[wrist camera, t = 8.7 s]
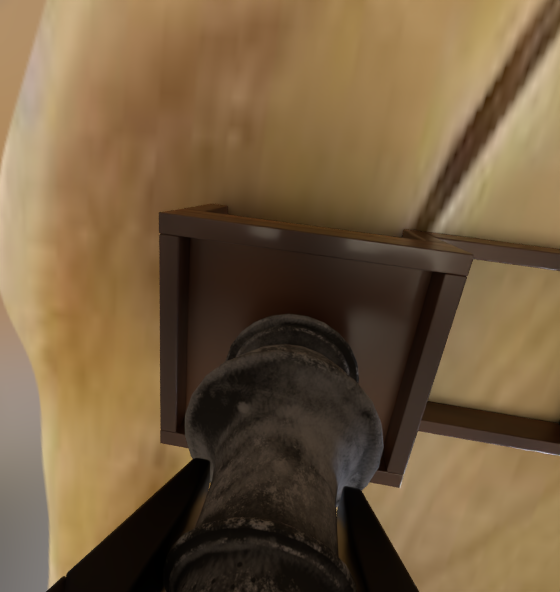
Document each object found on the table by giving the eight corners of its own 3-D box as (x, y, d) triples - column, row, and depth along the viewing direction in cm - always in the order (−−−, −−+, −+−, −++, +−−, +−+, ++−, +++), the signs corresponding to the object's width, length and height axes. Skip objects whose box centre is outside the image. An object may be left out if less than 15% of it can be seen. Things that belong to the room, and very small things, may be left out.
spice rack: (203, 374, 22) (160, 443, 16) (210, 203, 18) (158, 212, 12) (566, 435, 20) (667, 538, 14) (655, 261, 16) (840, 304, 11)
